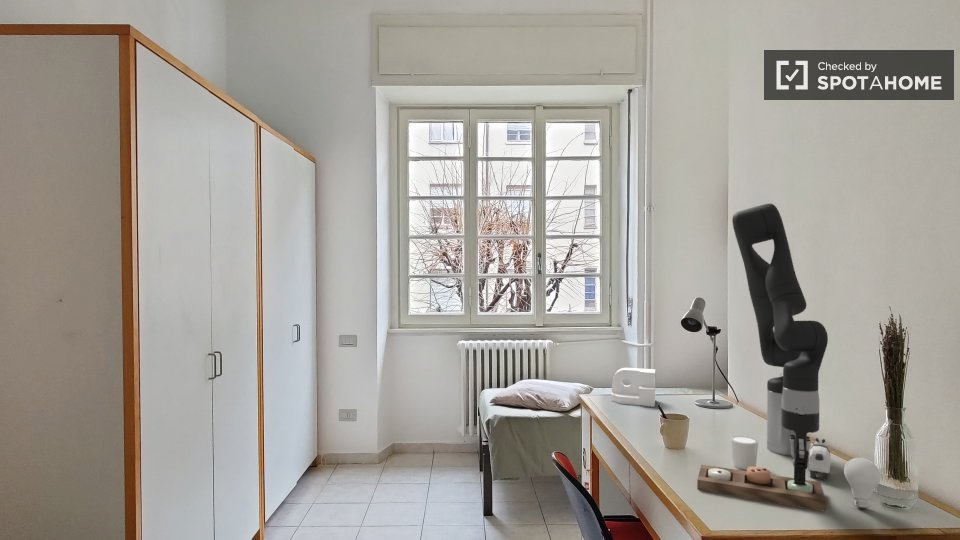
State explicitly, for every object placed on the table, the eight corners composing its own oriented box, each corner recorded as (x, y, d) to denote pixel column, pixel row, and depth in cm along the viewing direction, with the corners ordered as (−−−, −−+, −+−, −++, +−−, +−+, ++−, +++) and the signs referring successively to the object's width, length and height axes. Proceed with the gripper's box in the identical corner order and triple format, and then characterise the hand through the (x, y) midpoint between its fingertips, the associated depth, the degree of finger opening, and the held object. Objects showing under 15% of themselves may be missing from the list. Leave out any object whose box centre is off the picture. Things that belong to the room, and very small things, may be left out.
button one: (731, 479, 138) (731, 469, 138) (730, 486, 133) (730, 476, 133) (709, 475, 140) (709, 466, 140) (707, 483, 135) (707, 473, 135)
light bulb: (836, 502, 127) (836, 453, 126) (864, 501, 127) (864, 452, 127) (858, 515, 120) (859, 464, 120) (888, 514, 121) (888, 463, 120)
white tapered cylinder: (746, 472, 145) (746, 445, 145) (724, 464, 151) (724, 438, 151) (764, 468, 148) (764, 441, 148) (741, 459, 154) (741, 434, 154)
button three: (770, 477, 134) (770, 467, 134) (770, 485, 129) (770, 474, 129) (746, 474, 136) (747, 464, 136) (746, 481, 132) (746, 471, 132)
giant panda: (830, 482, 138) (830, 449, 138) (808, 478, 141) (808, 446, 140) (830, 467, 148) (831, 436, 148) (810, 463, 151) (810, 433, 151)
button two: (811, 491, 130) (811, 481, 130) (813, 500, 126) (813, 489, 126) (786, 487, 132) (787, 477, 132) (788, 495, 128) (788, 485, 128)
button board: (820, 492, 132) (820, 482, 132) (825, 511, 122) (825, 499, 122) (701, 474, 143) (701, 464, 143) (697, 490, 134) (697, 479, 133)
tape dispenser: (655, 401, 218) (655, 369, 218) (654, 408, 208) (654, 374, 208) (613, 398, 224) (613, 366, 223) (610, 404, 214) (610, 371, 214)
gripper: (780, 399, 136) (779, 471, 137) (782, 413, 124) (782, 491, 125) (816, 403, 133) (815, 476, 133) (822, 417, 121) (821, 497, 121)
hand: (799, 483), depth 129 cm, fingers closed
